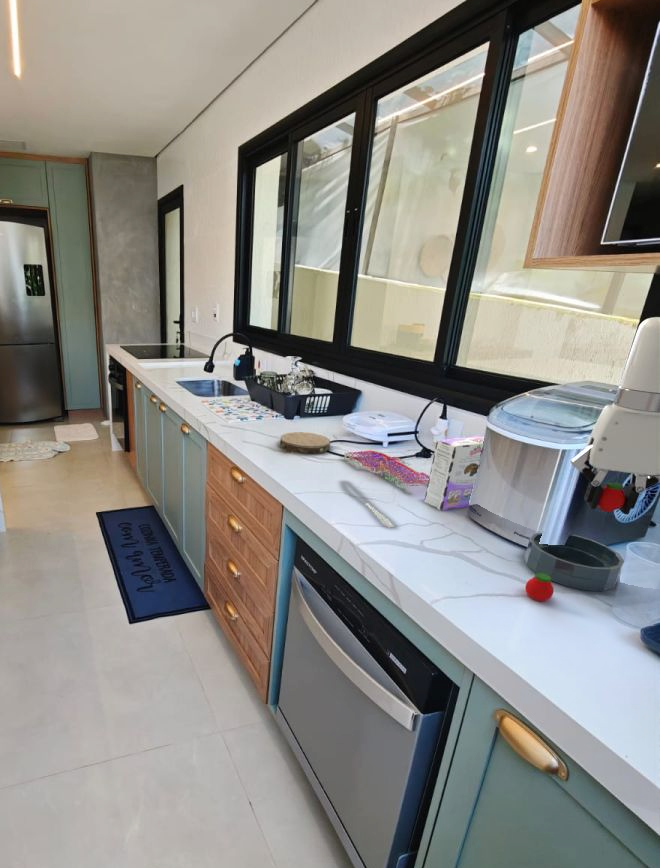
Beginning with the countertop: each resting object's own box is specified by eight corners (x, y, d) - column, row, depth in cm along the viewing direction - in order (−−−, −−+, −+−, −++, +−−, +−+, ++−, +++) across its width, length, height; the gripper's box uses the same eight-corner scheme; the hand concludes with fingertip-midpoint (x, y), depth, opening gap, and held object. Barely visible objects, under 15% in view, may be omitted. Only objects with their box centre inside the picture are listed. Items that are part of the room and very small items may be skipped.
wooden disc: (269, 445, 165) (270, 436, 164) (303, 438, 174) (304, 429, 173) (305, 458, 154) (306, 449, 152) (339, 450, 163) (340, 441, 161)
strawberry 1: (538, 592, 88) (545, 569, 86) (555, 605, 84) (563, 582, 83) (517, 593, 87) (524, 570, 86) (533, 606, 84) (541, 583, 82)
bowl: (601, 563, 98) (610, 540, 96) (625, 601, 86) (635, 576, 84) (519, 548, 103) (525, 526, 101) (530, 582, 91) (537, 557, 89)
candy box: (465, 496, 128) (480, 434, 122) (484, 505, 123) (501, 441, 117) (422, 502, 124) (435, 438, 118) (440, 512, 119) (455, 445, 113)
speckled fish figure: (448, 494, 129) (452, 475, 127) (396, 498, 126) (400, 478, 124) (385, 458, 156) (387, 441, 154) (340, 460, 153) (342, 443, 151)
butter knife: (383, 526, 109) (396, 525, 109) (338, 483, 134) (349, 482, 134) (382, 529, 109) (395, 528, 109) (338, 485, 134) (349, 484, 134)
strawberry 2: (616, 507, 86) (625, 482, 84) (624, 516, 83) (633, 490, 81) (589, 503, 87) (597, 478, 86) (595, 511, 84) (604, 486, 82)
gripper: (701, 402, 78) (658, 509, 85) (575, 391, 84) (545, 492, 91) (725, 412, 72) (677, 527, 79) (587, 399, 78) (553, 507, 85)
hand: (606, 507), depth 85 cm, fingers closed on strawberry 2, 3 cm apart
